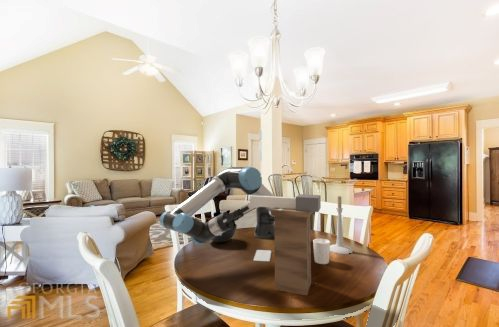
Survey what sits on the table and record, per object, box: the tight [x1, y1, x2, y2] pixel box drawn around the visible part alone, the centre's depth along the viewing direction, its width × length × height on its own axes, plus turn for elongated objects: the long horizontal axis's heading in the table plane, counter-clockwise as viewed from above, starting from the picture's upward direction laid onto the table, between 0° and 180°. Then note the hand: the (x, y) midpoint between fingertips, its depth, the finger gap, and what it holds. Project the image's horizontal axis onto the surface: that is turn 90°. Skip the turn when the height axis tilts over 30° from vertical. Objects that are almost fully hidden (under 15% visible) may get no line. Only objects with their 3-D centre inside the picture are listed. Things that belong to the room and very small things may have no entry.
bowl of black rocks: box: [204, 209, 238, 243], centre depth 151 cm, size 20×20×19 cm
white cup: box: [312, 238, 331, 265], centre depth 118 cm, size 8×8×10 cm
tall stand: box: [271, 208, 314, 296], centre depth 94 cm, size 12×14×30 cm
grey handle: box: [249, 193, 322, 213], centre depth 96 cm, size 9×27×5 cm, turn 69°
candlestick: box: [330, 195, 354, 255], centre depth 134 cm, size 13×13×30 cm
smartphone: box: [252, 249, 273, 263], centre depth 126 cm, size 8×1×15 cm
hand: (261, 200), depth 99 cm, fingers open, 13 cm apart
